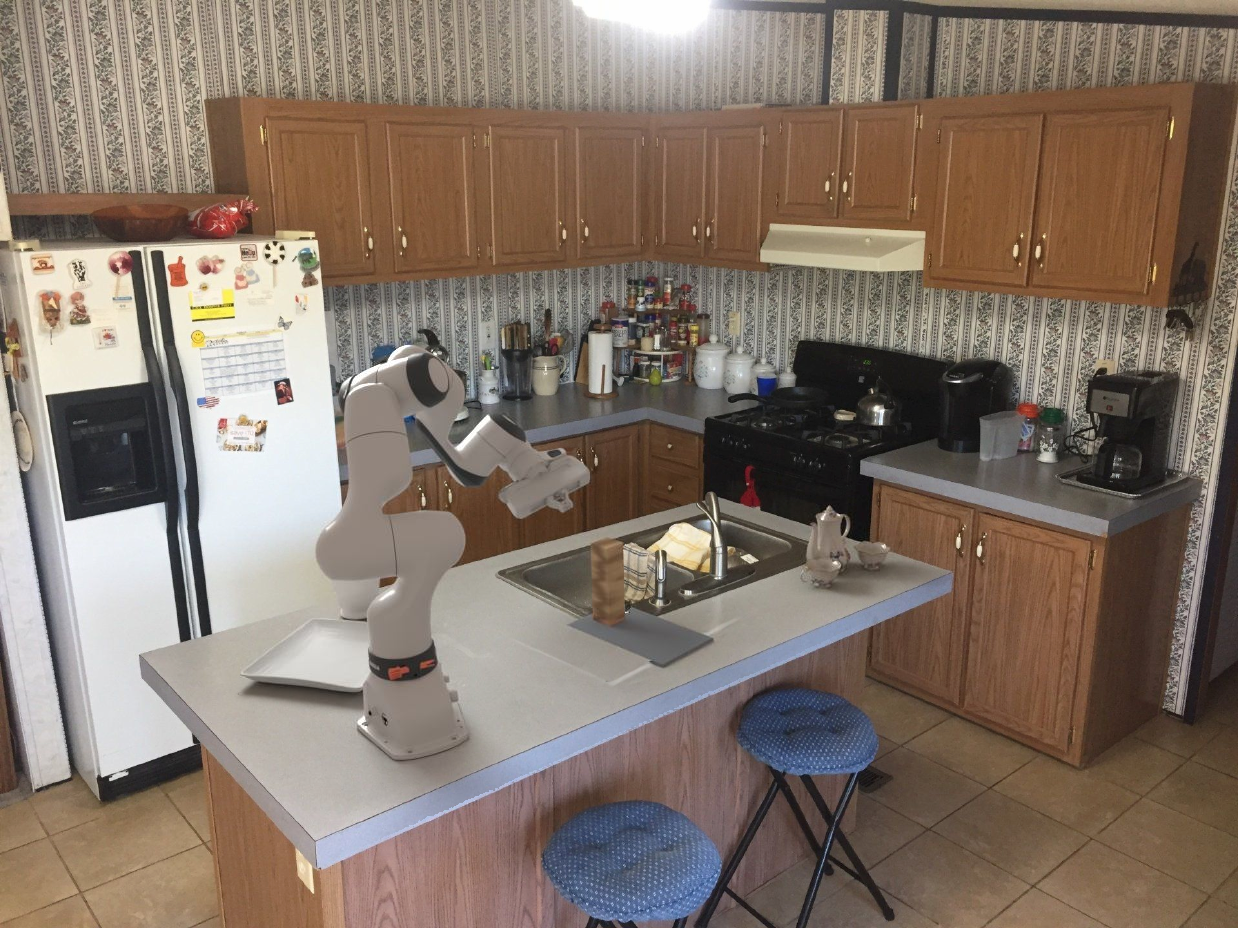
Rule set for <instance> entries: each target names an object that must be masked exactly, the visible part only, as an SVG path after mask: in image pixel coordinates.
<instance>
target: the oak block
mask: <svg viewBox="0 0 1238 928" xmlns="http://www.w3.org/2000/svg"><path fill="white" fill-rule="evenodd" d="M624 555H625V554H624V542H623V541H619V540H616V539H613V538H611V537H603V538H601V539H598V540H596V541H594V542H591V543H590V565H591V566H590V568H591V570H590V571H591V595H592V597H591V598H592V613H593V620H595V621H597V622H600V623H602V624H605V625H607V626H611V625H613V624H615V623H617V622H620V621H622V620H624V619H625V605H626V604H625V603H626V600H625V598H626V597H625V596H626V595H625V566H624V565H625V562H624V559H625V558H624V557H625V556H624Z"/></svg>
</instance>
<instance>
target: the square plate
mask: <svg viewBox="0 0 1238 928" xmlns="http://www.w3.org/2000/svg"><path fill="white" fill-rule="evenodd" d="M369 646H370V643H369V634H368V624H367V621H363V620H352V619H340V618H339V619H337V618H335V619H334V618H322V617H320V618H319V617H312V618H310V619H309V620H307V621H306V622H305V623H304V624H302V625H300V626H299V627H297V628H296V629H295V630H294V631H292V632H290V633H289V634H288V635H287V636H286V637H284V638H283V639H282V640H280V641H279V642H278V643H277V644H275V645H274V646H272V647H270V649H268V650H267V651H266V652H264V653H263V654H261V656H259V657H257V658H256V659H255V660H254V661H252V662H251V663H250V664H249V665H248V666H247V667H245V668H244V669H243V670H241V671H240V673H239V676H242V677H245V678H246V679H249V680H251V681H256V682H260V683H269V684H277V685H278V684H279V685H288V686H299V687H300V686H301V687H306V688H309V687H310V688H315V689H322V690H329V691H337V692H346V693H359V692H361V691H363V683H364V681H365V680H366V678H367V677H368V675H369V673H370V668H369V662H368V648H369Z"/></svg>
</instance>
